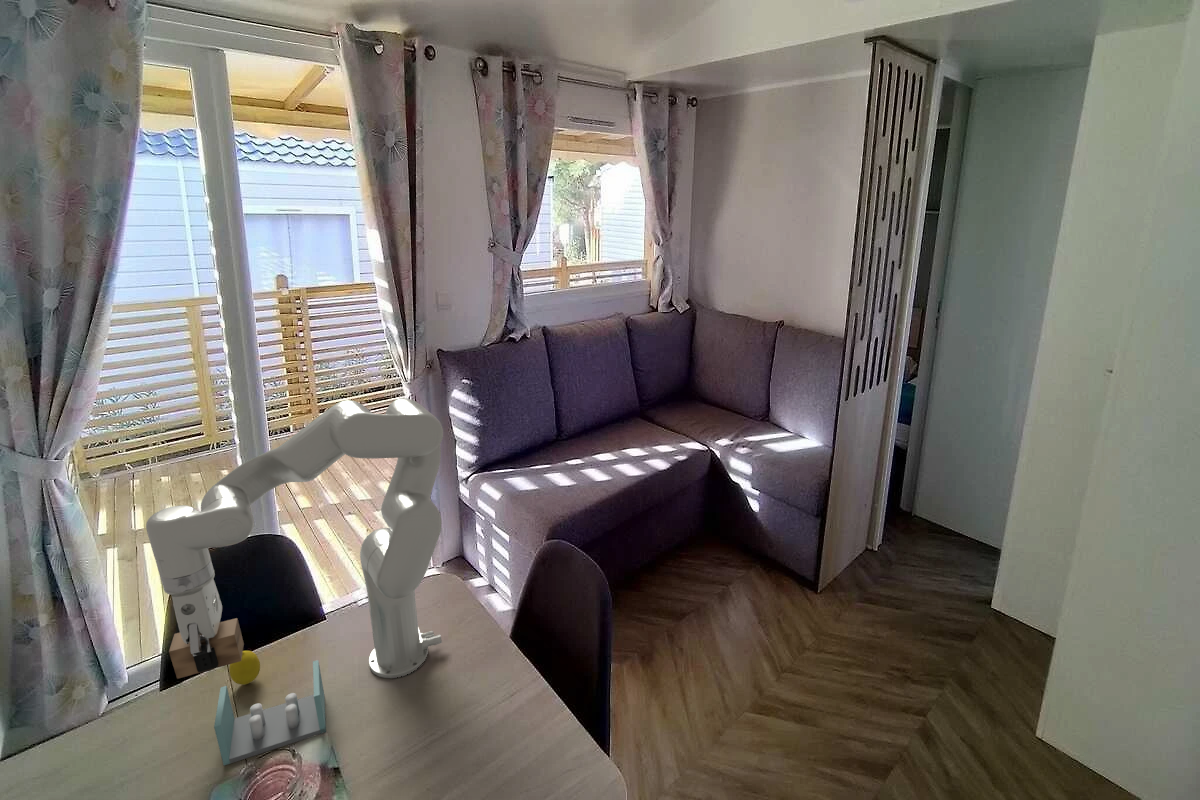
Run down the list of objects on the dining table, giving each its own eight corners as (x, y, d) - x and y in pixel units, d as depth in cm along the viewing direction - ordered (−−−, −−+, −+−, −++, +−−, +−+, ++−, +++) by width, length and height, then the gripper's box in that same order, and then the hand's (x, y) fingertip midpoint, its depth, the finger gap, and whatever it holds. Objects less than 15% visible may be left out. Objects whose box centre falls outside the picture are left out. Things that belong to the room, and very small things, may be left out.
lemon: (249, 695, 123) (242, 663, 120) (226, 690, 124) (219, 659, 122) (269, 675, 128) (262, 645, 126) (246, 671, 129) (240, 641, 127)
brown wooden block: (243, 643, 114) (237, 617, 112) (241, 661, 110) (234, 634, 108) (182, 660, 110) (174, 633, 108) (177, 678, 106) (168, 651, 104)
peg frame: (324, 695, 123) (318, 659, 120) (326, 731, 114) (319, 694, 112) (229, 724, 116) (220, 687, 113) (223, 765, 107) (214, 726, 105)
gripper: (205, 596, 98) (228, 683, 104) (219, 545, 113) (239, 624, 119) (150, 609, 95) (177, 698, 101) (172, 555, 110) (194, 635, 116)
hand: (210, 657), depth 110 cm, fingers closed on brown wooden block, 5 cm apart
